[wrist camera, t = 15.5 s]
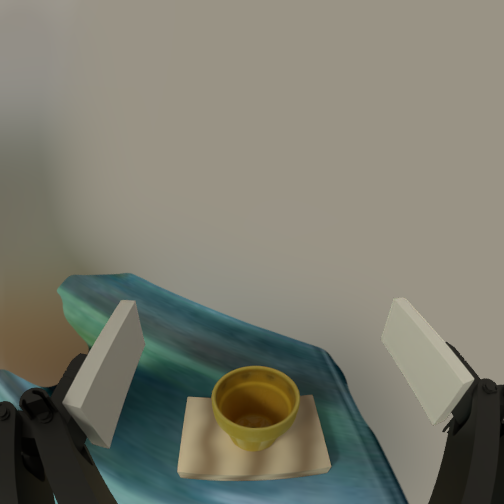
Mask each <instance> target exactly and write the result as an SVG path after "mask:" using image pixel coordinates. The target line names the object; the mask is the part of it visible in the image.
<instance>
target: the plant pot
mask: <svg viewBox="0 0 504 504" xmlns="http://www.w3.org/2000/svg"><path fill="white" fill-rule="evenodd" d="M299 405H300V393H299V390H298V387H297V386H296V384H295V383H294V381H293V380H292V379H291V378H290V377H288V376H287V375H286V374H284V373H282V372H280V371H278V370H276V369H273V368H269V367H264V366H247V367H242V368H238V369H235V370H233V371H231V372H229V373H227V374H225V375H224V376H223V377H222V378H221V379H220V380H219V381H218V382H217V383H216V385H215V387H214V389H213V391H212V408H213V413H214V416H215V419H216V421H217V423H218V425H219V426H220V427H221V429H222V430H223V431H225V432H226V433H227V434H228V435H229V436H230V438H231V440H232V441H233V443H234V444H235V445H236V446H238V447H239V448H241V449H243V450H246V451H252V452H255V451H261V450H264V449H266V448H268V447H270V446H271V445H272V444H273V443H274V441H275V440H276V439H277V438H278V437H279V436H281V435H283V434H284V433H285V432H286V431H287V430H288V429H289V428H290V427H291V426H292V424H293V423H294V420H295V418H296V415H297V412H298V409H299Z"/></svg>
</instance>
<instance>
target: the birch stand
mask: <svg viewBox="0 0 504 504" xmlns="http://www.w3.org/2000/svg"><path fill="white" fill-rule="evenodd" d="M330 468H331V463H330V459H329V455H328V451H327V447H326V443H325V440H324V436H323V432H322V428H321V424H320V421H319V417H318V413H317V409H316V406H315V402H314V398H313V395H304V396H300V405H299V409H298V412H297V415H296V418H295V420H294V423H293V424H292V426H291V427H290V428H289V429H288V430H287V431H286V432H285V433H284V434H283V435H281V436H279V437H278V438H277V439H276V440H275V441H274V443H273V444H272V445H271V446H270V447H268V448H266V449H264V450H261V451H255V452H252V451H246V450H243V449H241V448H239V447H238V446H236V445H235V444H234V443H233V441H232V440H231V438H230V436H229V435H228V434H227V433H226V432H225V431H223V430H222V429H221V427H220V426H219V425H218V423H217V421H216V419H215V416H214V413H213V408H212V398H200V397H188V398H187V405H186V411H185V418H184V425H183V432H182V439H181V447H180V454H179V462H178V471H177V472H178V474H179V475H180V477H181V478H190V479H201V480H220V481H255V480H274V479H286V478H295V477H303V476H310V475H317V474H323V473H327V472H328V471H329V469H330Z"/></svg>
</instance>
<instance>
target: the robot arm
mask: <svg viewBox="0 0 504 504" xmlns="http://www.w3.org/2000/svg"><path fill="white" fill-rule="evenodd" d="M381 340H382V342H383V344H384V345H385V347H386V348H387V350H388V351H389V353H390V355H391V356H392V358H393V359H394V361H395V363H396V364H397V366H398V367H399V369H400V371H401V372H402V374H403V375H404V377H405V379H406V380H407V382H408V384H409V385H410V387H411V389H412V390H413V392H414V394H415V395H416V397H417V399H418V401H419V402H420V404H421V406H422V408H423V409H424V411H425V413H426V415H427V416H428V418H429V420H430V422H431V424H432V425H433V426H434V425H436V424H438V423H441V422H443V421H445V420H446V418H447V417H448V416H449V414H450V413H452V414H453V416H454V417H453V418H452V419H451V420H450V422H449V423H448V424H447V425H446V426H445V428H444V429H443V431H442V432H445V431H446V429H447V428H448V427H449V431H448V432H447V433H448V437H447V442H446V447H445V451H444V455H443V459H442V463H441V467H440V470H439V474H438V477H437V480H436V484H435V486H434V489H433V492H432V495H431V498H430V501H429V503H428V504H504V385H496V383H495V382H493V381H492V380H490V379H480V378H479V377H478V375H477V374H476V373H475V372H474V370H473V369H472V368H471V367H470V366H469V364H468V363H467V362H466V361H464V358H463V357H462V356H461V355H460V353H459V352H458V351H457V350H456V349H455V347H453V346H452V345H450V344H449V343H447V342H444V341H443V340H442V338H441V337H440V336H439V335H438V334H437V333H436V332H435V330H434V329H433V328H432V327H431V326H430V325H429V324H428V322H427V321H426V320H425V319H424V318H423V317H422V316H421V315H420V314H419V312H417V310H416V309H415V308H414V307H413V306H412V305H411V304H410V303H409V302H408V301H407V300H406V299H405V298H394V299H393V302H392V306H391V309H390V312H389V315H388V318H387V322H386V325H385V328H384V330H383V333H382V336H381ZM144 346H145V342H144V338H143V334H142V329H141V325H140V321H139V316H138V311H137V306H136V301H129V300H121V301H120V303H119V305H118V306H117V308H116V309H115V311H114V312H113V314H112V316H111V317H110V319H109V320H108V322H107V324H106V325H105V327H104V328H103V330H102V332H101V333H100V335H99V337H98V338H97V340H96V342H95V343H94V345H93V347H92V349H91V350H90V352H89V354H88V355H86V354H81V353H80V354H79V355H78V356H76V357H75V358H74V359H73V360H72V361H71V362H70V364H69V366H68V367H67V371H65V373H64V374H63V378H61V380H60V381H59V383H58V385H57V387H56V388H55V390H54V392H53V394H52V396H51V398H50V397H49V395H48V394H47V392H46V391H45V390H43V389H41V388H31V389H29V390H27V391H25V392H24V393H23V395H22V396H21V398H20V401H19V406H20V407H21V409H22V410H23V411H20V410H17V409H16V408H15V407H14V405H13V404H12V403H10V402H7V401H3V402H0V504H55V500H54V495H55V498H56V500H57V502H58V504H118V503H117V502H116V500H115V498H114V497H113V495H112V494H111V492H110V490H109V488H108V487H107V485H106V483H105V482H104V480H103V478H102V476H101V474H100V472H99V471H98V469H97V467H96V465H95V463H94V461H93V459H92V457H91V455H90V453H89V451H88V448H87V447H86V445H85V444H84V443H85V441H86V438H88V439H89V440H90V442H91V443H92V444H94V445H97V446H101V447H105V448H110V444H111V441H112V438H113V435H114V431H115V428H116V425H117V422H118V419H119V416H120V413H121V410H122V407H123V404H124V401H125V398H126V395H127V392H128V389H129V386H130V383H131V381H132V378H133V375H134V372H135V370H136V367H137V364H138V362H139V359H140V356H141V354H142V351H143V349H144ZM53 493H54V495H53Z"/></svg>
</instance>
